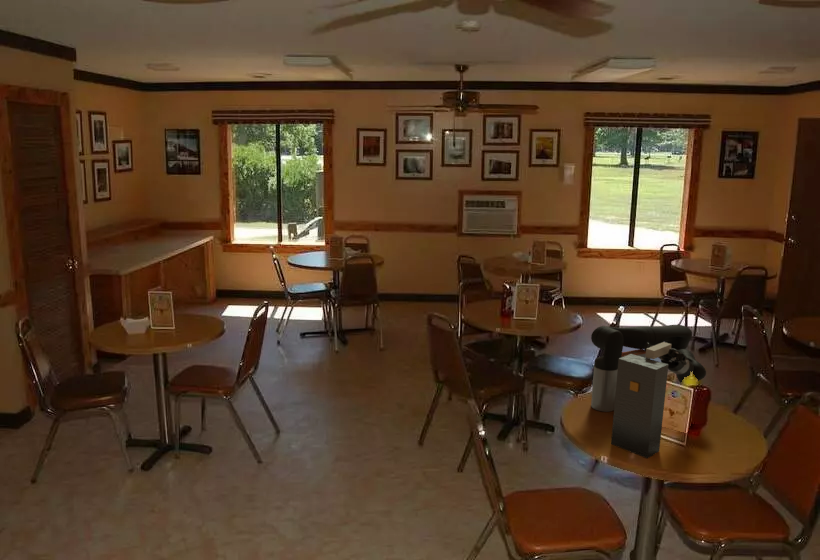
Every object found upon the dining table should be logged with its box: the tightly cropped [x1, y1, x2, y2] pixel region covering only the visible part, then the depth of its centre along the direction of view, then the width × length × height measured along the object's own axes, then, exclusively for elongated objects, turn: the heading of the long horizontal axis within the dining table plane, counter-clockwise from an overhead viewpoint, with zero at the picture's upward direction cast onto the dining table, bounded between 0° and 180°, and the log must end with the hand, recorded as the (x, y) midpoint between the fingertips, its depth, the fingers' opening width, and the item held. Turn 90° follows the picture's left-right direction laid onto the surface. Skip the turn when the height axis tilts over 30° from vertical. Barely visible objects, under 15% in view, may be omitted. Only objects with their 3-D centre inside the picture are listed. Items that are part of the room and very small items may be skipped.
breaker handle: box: [646, 341, 672, 360], centre depth 232 cm, size 12×3×3 cm, turn 131°
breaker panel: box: [610, 354, 669, 459], centre depth 229 cm, size 9×14×32 cm, turn 41°
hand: (658, 348), depth 232 cm, fingers open, 8 cm apart
